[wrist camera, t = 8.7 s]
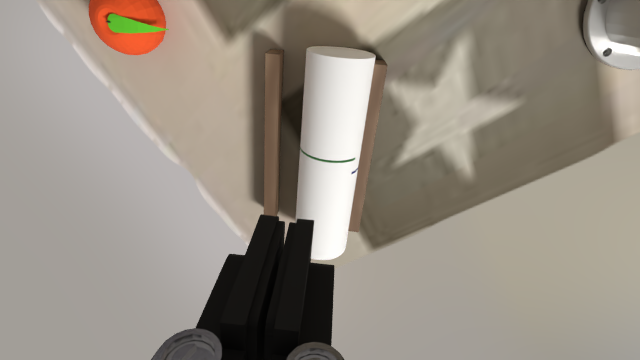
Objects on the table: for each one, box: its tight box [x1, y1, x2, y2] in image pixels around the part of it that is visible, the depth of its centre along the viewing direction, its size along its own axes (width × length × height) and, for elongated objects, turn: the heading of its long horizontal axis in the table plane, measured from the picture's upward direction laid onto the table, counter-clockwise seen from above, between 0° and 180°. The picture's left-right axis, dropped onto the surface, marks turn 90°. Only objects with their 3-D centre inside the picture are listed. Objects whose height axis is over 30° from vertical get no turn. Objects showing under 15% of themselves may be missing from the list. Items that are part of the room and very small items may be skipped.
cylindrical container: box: [295, 46, 376, 260], centre depth 42 cm, size 7×7×25 cm
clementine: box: [89, 0, 169, 55], centre depth 35 cm, size 8×7×7 cm
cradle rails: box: [264, 49, 387, 232], centre depth 43 cm, size 13×22×3 cm, turn 175°
